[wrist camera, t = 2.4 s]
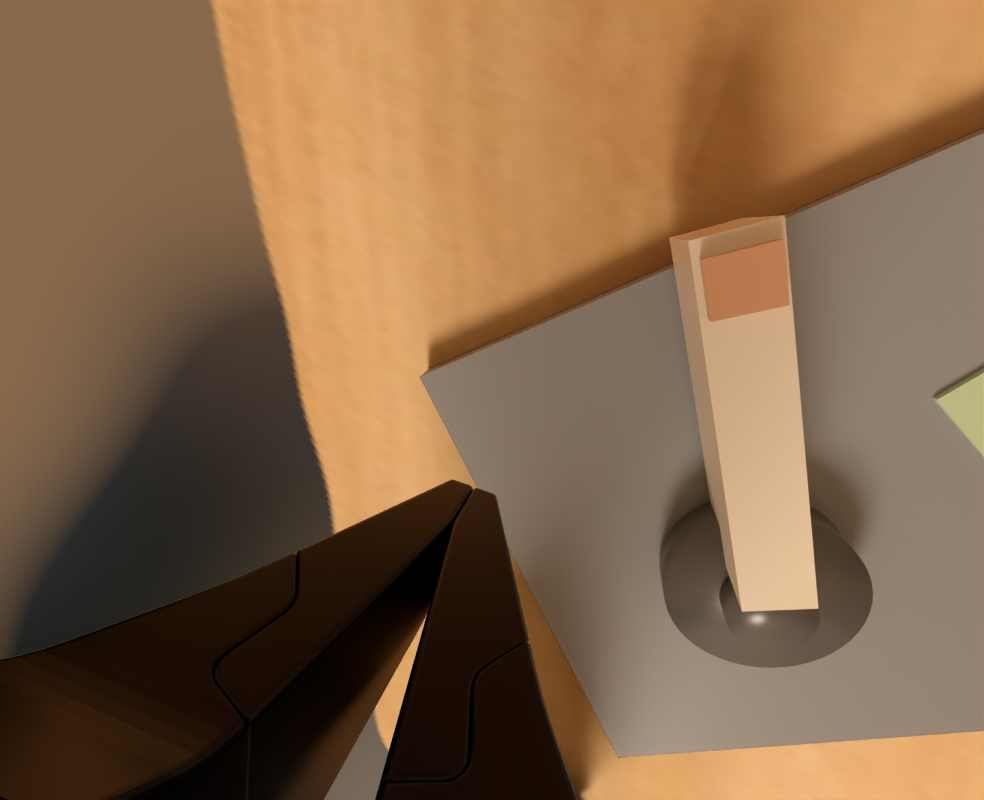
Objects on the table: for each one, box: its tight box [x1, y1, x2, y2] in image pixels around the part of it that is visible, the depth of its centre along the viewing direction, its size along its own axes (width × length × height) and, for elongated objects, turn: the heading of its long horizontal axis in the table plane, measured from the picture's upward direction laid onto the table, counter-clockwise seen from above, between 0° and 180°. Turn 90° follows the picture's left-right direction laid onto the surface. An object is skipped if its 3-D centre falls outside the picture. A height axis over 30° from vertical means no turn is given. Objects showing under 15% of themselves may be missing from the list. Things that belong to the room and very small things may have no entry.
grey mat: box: [420, 128, 984, 758], centre depth 18 cm, size 23×23×1 cm
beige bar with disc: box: [659, 215, 873, 668], centre depth 15 cm, size 17×7×4 cm, turn 17°
